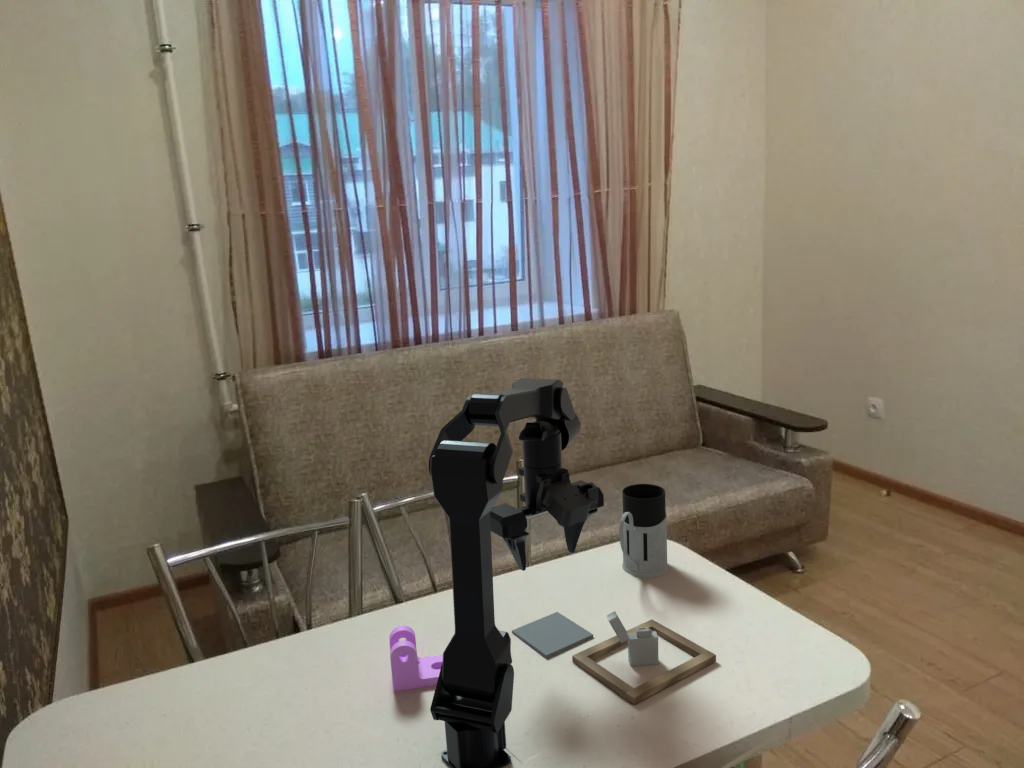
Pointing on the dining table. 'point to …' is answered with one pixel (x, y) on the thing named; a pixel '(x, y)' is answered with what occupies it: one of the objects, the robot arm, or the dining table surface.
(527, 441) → the robot arm
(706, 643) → the dining table surface
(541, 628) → the mat
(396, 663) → the bracket
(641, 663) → the lighter
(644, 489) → the glass holder
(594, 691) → the dining table surface
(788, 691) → the dining table surface
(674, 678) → the frame
